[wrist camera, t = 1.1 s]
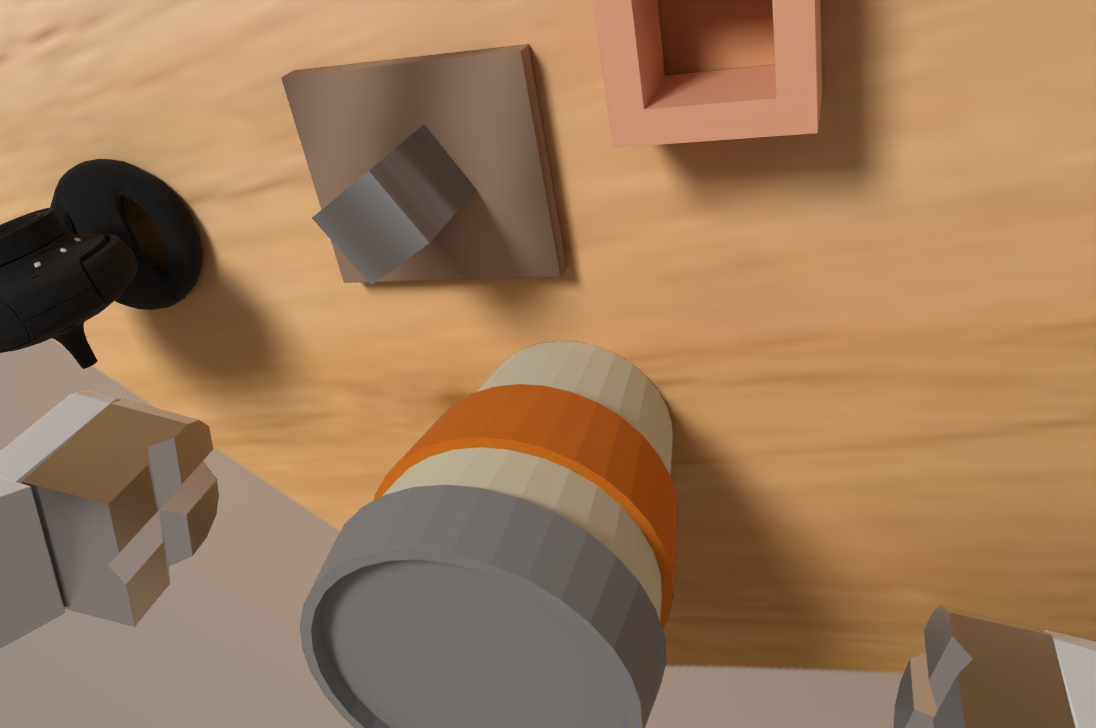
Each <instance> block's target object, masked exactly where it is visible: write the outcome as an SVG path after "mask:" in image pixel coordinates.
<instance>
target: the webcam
mask: <svg viewBox="0 0 1096 728" xmlns="http://www.w3.org/2000/svg"><path fill="white" fill-rule="evenodd" d="M123 198H129V199H131V200H132V201H134V202H135V203H136V204H138V205H139V206H140V207H142V208H143V209H144V210H145V211H146V212H147V213H148V214H149V216H150V217H151V218H152V219H153V220H154V222H155V223H156V224H157V226H158V228H159V230H160V231H161V233H162V235H163V237H164V239H165V242H166V245H167V249H168V254H169V262H168V267H167V269H165V270H164V269H162V268H160V267H158V266H156V265H155V264H154V263H153V262H152V260H151V259H150V258H149V257H148V256H147V254H146V253H145V252H144V251H143V249H142V247H141V246H140V244H139V242H138V241H137V239H136V237H135V235H134V233H133V231H132V229H131V227H130V225H129V223H128V221H127V219H126V217H125V213H124V210H123ZM201 264H202V252H201V246H200V240H199V236H198V233H197V231H196V228H195V226H194V224H193V222H192V220H191V218H190V216H189V214H188V212H187V211H186V209H185V208H184V206H183V205H182V203H181V202H180V200H179V199H178V198H177V197H176V196H175V195H174V194H173V193H172V192H171V191H170V190H169V189H168V188H167V187H166V186H165V185H164V184H163V183H162V182H161V181H160V180H158V179H157V178H155V177H154V176H152V175H150V174H149V173H147V172H145V171H143V170H141V169H138V168H136V167H134V166H132V165H130V164H128V163H126V162H124V161H117V160H110V159H96V160H90V161H85V162H82V163H80V164H78V165H76V166H75V167H73V168H71V169H70V170H68V171H67V172H66V173H65V174H64V175H63V176H62V177H61V179H60V180H59V182H58V185H57V187H56V189H55V192H54V196H53V200H52V203H51V208H46V209H42V210H38V211H35V212H32V213H29V214H26V215H24V216H21V217H18V218H16V219H13V220H11V221H8V222H6V223H4V224H1V225H0V353H2V352H8V351H14V350H19V349H22V348H26V347H29V346H32V345H35V344H38V343H41V342H43V341H46V340H48V339H51V338H53V339H55V340H57V341H58V342H60V343H61V344H62V345H63V346H64V347H65V348H66V349H67V350H68V351H69V352H70V353H71V354H72V355H73V357H74V358H75V359H76V360H77V362H78V363H79V365H80V366H81V367H82V368H83V369H85V368H88V367H90V366H92V365H94V364H95V363H96V362H97V359H96V357H95V355H94V353H93V351H92V350H91V348H90V346H89V344H88V342H87V339H86V336H85V333H84V327H83V324H84V322H85V321H86V320H88V319H90V318H92V317H93V316H95V315H97V314H98V313H100V312H101V311H102V310H104V309H105V308H106V307H108V306H109V305H110V304H111V303H112V302H113V301H116V302H118V303H120V304H123V305H126V306H129V307H133V308H137V309H148V310H153V309H160V308H166V307H169V306H172V305H174V304H176V303H177V302H179V301H181V300H182V299H184V298H185V297H186V296H187V295H188V294H189V293H190V291H191V290H192V288H193V287H194V286H195V284H196V281H197V279H198V277H199V274H200V270H201Z"/></svg>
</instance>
